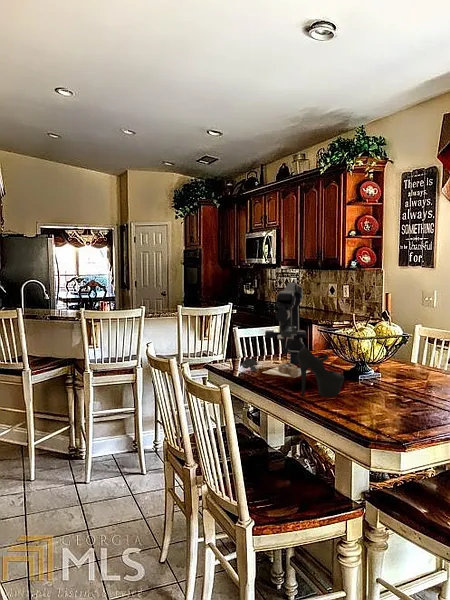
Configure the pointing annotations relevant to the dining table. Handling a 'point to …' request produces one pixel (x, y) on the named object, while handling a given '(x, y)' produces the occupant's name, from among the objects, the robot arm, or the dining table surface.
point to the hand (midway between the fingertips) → (285, 352)
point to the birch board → (276, 372)
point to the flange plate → (288, 370)
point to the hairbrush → (250, 364)
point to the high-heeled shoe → (319, 374)
